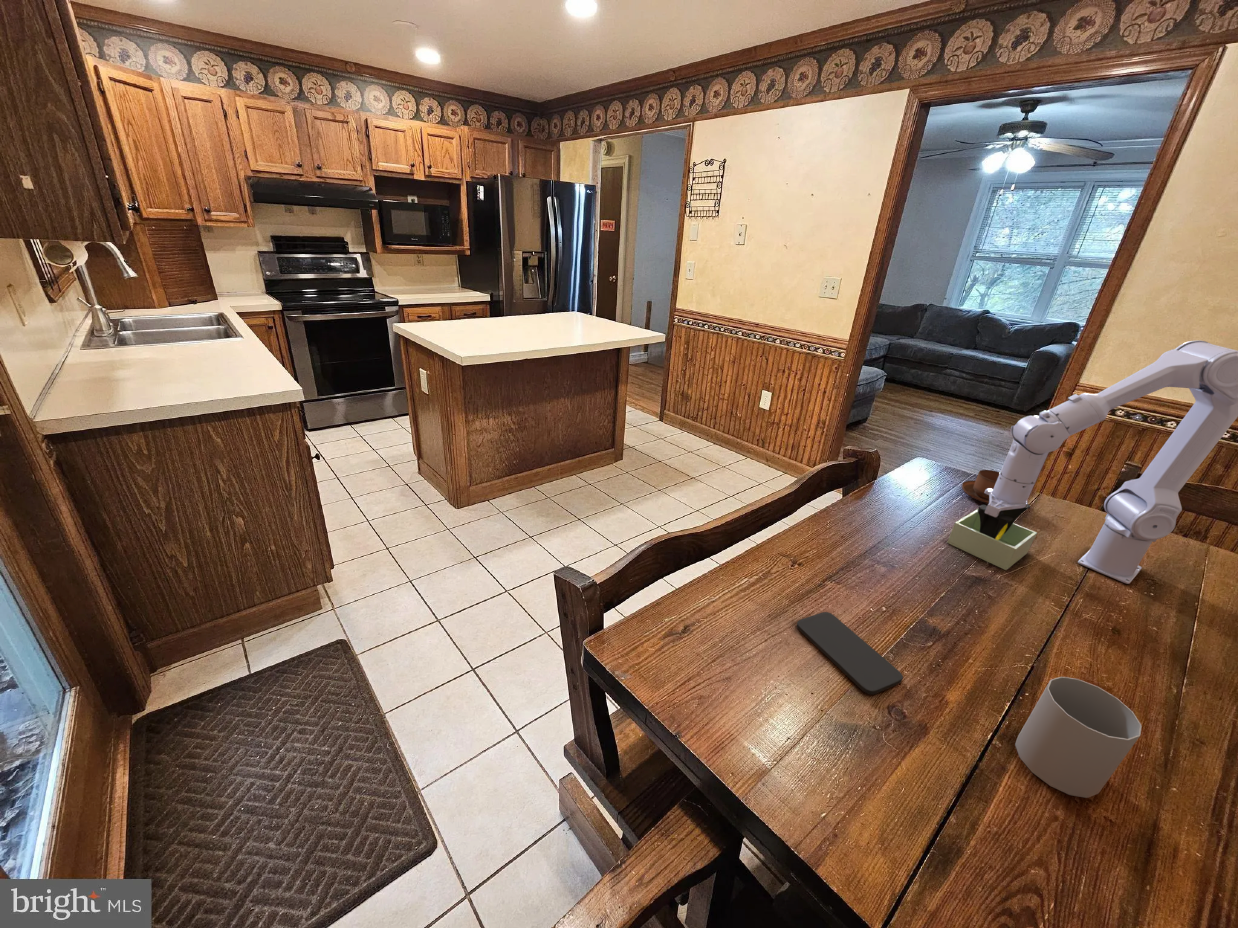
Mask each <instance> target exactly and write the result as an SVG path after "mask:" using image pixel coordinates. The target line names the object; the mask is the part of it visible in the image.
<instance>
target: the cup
mask: <svg viewBox="0 0 1238 928" xmlns="http://www.w3.org/2000/svg"><path fill="white" fill-rule="evenodd" d="M1141 733H1142V724H1141V722H1140V720H1139V719H1138V718H1137V716H1136V714H1135V713H1134V711H1133V710H1131V708H1129V707H1128V706H1127V705H1125V703H1123V702H1122V701H1121V700H1120V699H1119V698H1118V697H1116V696H1115V695H1114V694H1111V693H1110V692H1108V691H1106V690H1104V689H1103V688H1102V687H1100V686H1098V685H1095V684H1092V683H1090V682H1087V681H1084V680H1082V679H1080V678H1074V677H1068V676H1059V677H1055V678H1051V679H1050V680H1049V681H1048V683H1047V685H1046V687H1045V688H1044V690H1043V692H1042V693H1041V695H1040V697H1039V699H1038V701H1037V702H1036V704H1035V706H1034V708H1033V709H1032V711H1031V713H1030V714H1029V716H1028V717H1027V720H1026V721H1025V723H1024V725H1023V727H1022V729H1020V732H1019V734H1018V735H1017V738H1016V741H1015V743H1014V746H1015V749H1016V751H1017V754H1018V757H1019V759H1020V760H1021V761H1022V762H1023V764H1024V765H1025V766H1026V767H1027V768H1028V769H1029V771H1030V772H1031V773H1032V774H1034V775H1035V776H1036V777H1037V778H1039V779H1040V780H1042V781H1043V782H1044V783H1045V784H1047V785H1048V786H1050V787H1052V788H1054V789H1056V790H1058V791H1060V792H1062V793H1064V794H1066V795H1068V796H1074V797H1079V798H1085V799H1089V798H1091V797H1093V796H1095V795H1098V794H1099V793H1101V791H1102V789H1103V788H1104V787H1105V785H1106V784H1107V782H1108V781H1109V779H1110V778H1111V777H1112V776H1113V774H1114V773H1115V771H1116V770H1117V769H1118V767H1120V764H1122V762H1123V760H1124V759H1125V757H1127V755H1128V753H1129V752H1130V751H1131V750H1132V748H1133V747H1134V745H1136V742H1137V741H1138V740H1139V738H1141Z"/></svg>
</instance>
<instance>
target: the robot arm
mask: <svg viewBox="0 0 1238 928" xmlns="http://www.w3.org/2000/svg"><path fill="white" fill-rule="evenodd" d="M1165 388H1178V389H1179V388H1180V389H1181V388H1182V389H1189V391H1190V393H1191V395H1192V397H1193V398H1194V400H1195V402H1194V403H1193V405H1192V406H1191V407H1190V409H1189V410H1188V412H1186V414H1185V415H1184V416H1183V418H1182V420H1181V421H1180V422H1179V424H1178V425H1177V426H1176V427H1175V429H1174V430H1173V432H1172V433H1171V435H1170V436H1169V437H1168V439H1167V440H1166V441H1165V443H1164V444H1163V445H1162V446H1161V448H1160V450H1159V451H1158V452H1157V454H1155V456H1154V458H1153V459H1152V460H1151V462H1150V463H1149V465H1148V466H1147V467H1146V468H1145V470H1144V471H1143V473H1142V474H1141V475H1140V477H1139V478H1135V479H1130V480H1126V481H1124V482H1123V484H1122V485H1121V486H1120V487H1119V488H1118V489H1117V490H1115V491H1114V492H1111V493H1110V494H1109V495H1108V496H1107V497H1106V498H1105V500H1104V503H1103V509H1104V511H1105V512H1106V515H1105V517H1104V519H1105V521H1104V523H1103V525H1102V527H1101V529H1100V530H1099V532H1098V534H1097V535H1096V538H1095V540H1094V542H1093V543H1092V545H1091V547H1090V548H1089V550H1088V551H1087V552H1085V554H1084V555H1083V556H1082V557H1080V559H1079V560H1078V561H1077V563H1078V564H1079V565H1081V566H1083V567H1086V568H1088V569H1090V570H1092V571H1094V572H1096V573H1100V574H1102V575H1105V576H1107V577H1109V578H1111V579H1114V580H1117V581H1119V582H1121V583H1123V584H1126V585H1130V584H1131V583H1132V581H1133V580H1134V579H1135V577H1136V576H1137V575H1138V574H1139V573H1140V572H1141V570H1142V569H1143V567H1142V566H1141V565H1140V563H1141V562H1142V561H1143V559H1144V557H1145V555H1146V553H1147V552H1148V550H1149V548H1150V546H1151V545H1152V543H1153V542H1154V543H1155V542H1157V540H1160V539H1163V538H1165V537H1167V536H1168V535H1170V534H1171V533H1172V532H1173V531H1174V529H1175V528H1176V526H1177V525H1176V524H1177V519H1178V516H1179V515H1180V514H1181V512H1182V511H1183V507H1182V504H1181V501H1180V500H1181V499H1180V496H1179V492H1180V491H1181V490H1182V489H1183V487H1184V486H1185V485H1186V483H1187V482H1188V481H1189V480H1190V478H1191V477H1192V476H1193V475H1194V473H1195V472H1196V470H1197V469H1198V468H1199V467H1200V465H1202V463H1203V461H1204V460H1205V459H1207V457H1208V455H1209V454H1210V453H1211V452H1212V451H1213V449H1214V447H1216V445H1217V444H1218V443H1219V442H1220V440H1221V439H1222V437H1223V436H1224V435H1225V434H1226V433H1227V431H1228V430H1229V428H1230V427H1231V426H1232V425H1233V424H1234V422H1235V421H1236V420H1237V418H1238V350H1237V349H1232V348H1229V347H1226V346H1221V345H1218V344H1212V343H1210V342H1208V341H1206V340H1201V339H1199V340H1197V339H1196V340H1190V341H1186V342H1184V343H1182V344H1180V345H1178V346H1177V347H1175V348H1172V349H1170V350H1167V351H1165V352H1163V353H1162V354H1161V355H1160V356H1159V357H1158V358H1157V359H1156V360H1155V361H1154V362H1151V364H1148V365H1147V366H1145V367H1143V368H1141V369H1140V370H1138V371H1136V372H1134V373H1132V374H1131V375H1128V376H1126V377H1125V378H1123V379H1121V380H1119V381H1118V382H1116V383H1114V384H1112V385H1110V386H1108V387H1107V388H1105V389H1103V390H1101V391H1099V392H1098V393H1086V392H1083V393H1081V394H1077V393H1074V394H1073V395H1071V396H1068V397H1067V400H1066V401H1064V402H1062V403H1060V404H1058V405H1056V406H1054V407H1052V408H1050V409H1048V410H1043V411H1040V412H1039V415H1035V414H1034V415H1027V416H1024V417H1022V418H1020V419H1019V420H1018V421H1017V422H1016V423H1015V424H1014V425H1011V427H1010V435H1011V438H1012V442H1011V445H1010V448H1009V450H1008V453H1007V455H1006V457H1005V459H1004V462H1003V465H1002V467H1001V469H1000V471H999V472H1000V474H999V476H998V479H997V481H996V484H995V486H994V489H991V488H988V489H986V490H985V492H984V493H985V494H988V495H989V504H987V505H986V504H981V505H979V506H978V508H977V509H978V513H979V516H980V533H982V534H985V535H987V536H989V537H992V538H994V539H995V538H996V537H997V535H998V534H999V532H1000V531H1001V529H1002V528H1003V527H1004V526H1005V525H1006V524H1007V523H1008V524H1007V528H1006V530H1005V532H1004V534H1005V533H1006V532H1007V531H1008V529H1009V528H1010V527H1011V525H1012V524H1013V523H1014V524H1015V522H1016V521H1017V519H1018V518H1019V517H1021V515H1022V514H1023V513H1024V512H1026V511H1027V510H1029V509H1030V508H1031V505H1030V504H1029V501H1028V500H1029V498H1030V495H1031V493H1032V491H1033V489H1034V486H1035V484H1036V483H1037V480H1038V478H1039V476H1040V473H1041V471H1042V469H1043V467H1044V464H1045V462H1046V460H1047V458H1048V456H1049V453H1052V452H1055V451H1057V450H1059V448H1060V447H1061V446H1062V445H1063V443H1064V441H1066V440H1068V439H1069V437H1070V436H1074V435H1075V434H1077V433H1080V432H1081V431H1084V430H1086V429H1088V428H1090V427H1093V426H1095V425H1097V424H1099V423H1101V422H1103V421H1105V420H1106V419H1107V417H1108V414H1109V412H1110V411H1111V410H1114V409H1115V408H1118V407H1121V406H1123V405H1125V404H1128V403H1130V402H1133V401H1136V400H1138V399H1140V398H1142V397H1145V396H1147V395H1150V394H1153V393H1155V392H1157V391H1160V390H1162V389H1165Z"/></svg>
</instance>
